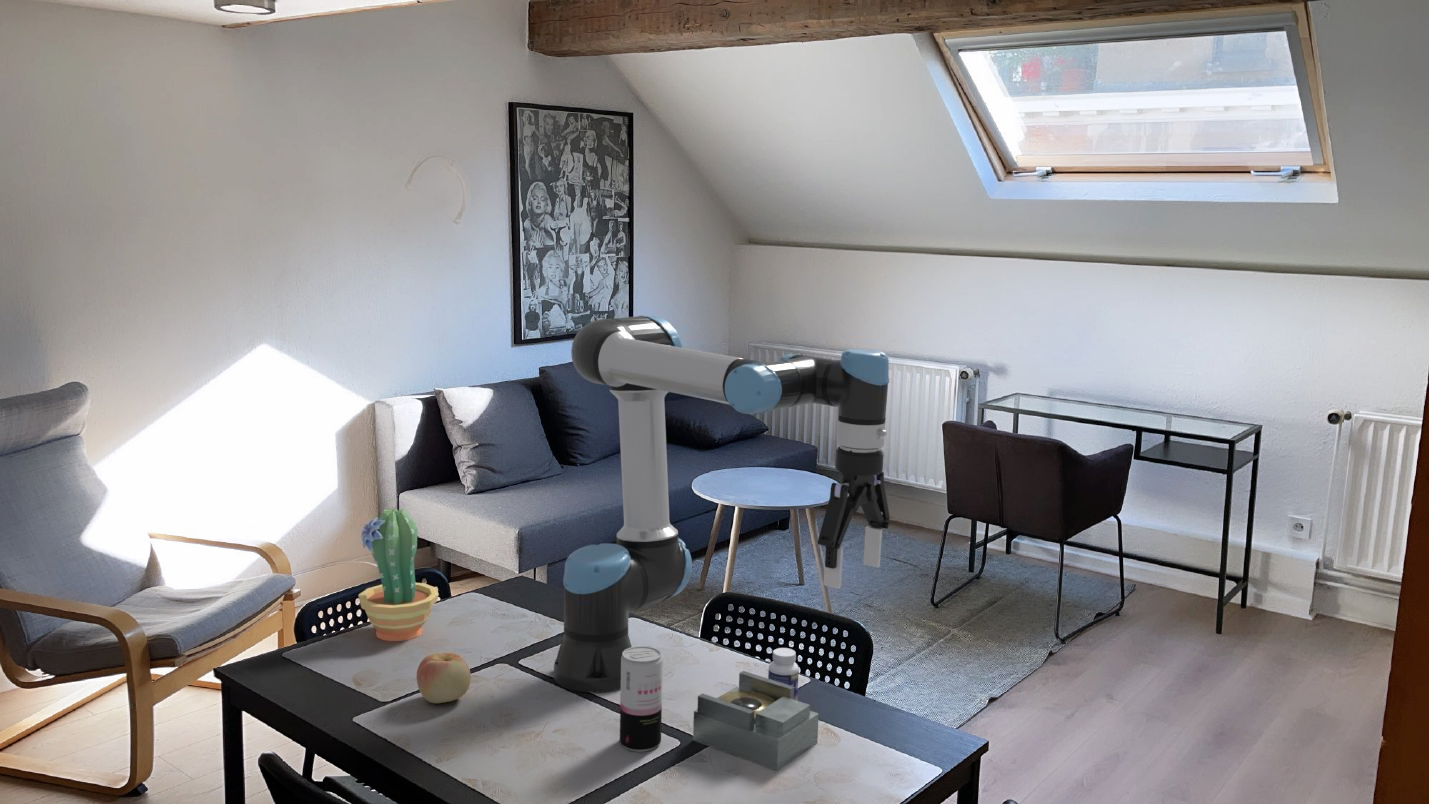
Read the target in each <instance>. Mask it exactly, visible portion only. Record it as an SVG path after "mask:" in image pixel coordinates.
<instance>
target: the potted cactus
mask: <svg viewBox="0 0 1429 804" xmlns="http://www.w3.org/2000/svg"><path fill="white" fill-rule="evenodd" d="M364 525H365V526H363V529H362V531H361V537H360V538H361V541H362V546H363V549H364V548H367V549H368V550H369V552H371V555H372V558H373V560H374V562H375V564H376V566H377V568H378V572H379V577H380V582H381V584H379V585H375V586H372V587H367V588H365V590H363V591H362V592H360V593H359V594H358V599H359V604H360V607H361V609H362V610H365V613H366V616H367V619H368V621H369V622H370V624H371V625H372V626H373V627H374V629H375V631H376V632H375V634H376V637H377V638H378V639H380V640H383V641H387V642H399V641H400V642H401V641H409V640H413V639H415V638H418V637H420V636H421V635H422V634H423V629H422V628H423V626H424V625H425V623H426V621H427V620H428V619H429V618H430V615H431V614H432V613H431V612H432V609H433V606H434V604H436V603H437V602H438V598H439V595H440V594H439V592H438V588H437V587H435V586H432V585H429V584H427V583H425V582H423V583H422V582H416V575H415V556H416V552H417V548H418V526H417V524H416V523H415V521H414V519H413V518H412V517H411V516H410V514H409V513H408V512H407V511H406V510H405V509H404V508H401V509H397V507H392V509H391V510H388V509H383V511H382V512H381V515H379V517H378V516H376V517H375V518H373V519H371V520H370V521H368V522H366V524H364Z"/></svg>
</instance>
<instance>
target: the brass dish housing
mask: <svg viewBox="0 0 1429 804" xmlns="http://www.w3.org/2000/svg"><path fill="white" fill-rule="evenodd" d="M738 674H739V676H738V677H739V678H738V687H737V686H736V687H734V688H732V689H730V690H729V691H727V692H725V693H723V694H721V695H720V696H718V697H714V696H712V695H708V694H705V693H700V694H699V695H697V708H696V709H695V710H693V727H692V728H693V733H692V741H694V742H697V743H700V744H701V745H705V746H707V747H710V748H713V749H715V750H719V751H721V752H724V753H726V754H729V755H732V756H733V757H737V758H740V759H742V760H746V761H748V762H751V763H753V764H756V765H759V766H762V767H764V768H767V769H770V770H772V771H775V772H779V770H782V768H784V767H785V766H786V765H788V764H789V763H791V762H793V761H794V760H795V759H797V758H798V757H799V756H801V755H802V754H803V753H805V752H806V751H808V750H809V749H811V748H812V747H814V746H815V745H816V744H818V735H819V713H818V712H815V711H812V710H811V705H810V704H808V703H805V702H802V701H799V700H797V701H796V700H794V686H790V685H787V684H784V683H781V682H778V681H774V680H771V679H768V677H764V676H761V675H757V674H755V673H752V672H748V671H745V670H743V671H741V672H739V673H738Z"/></svg>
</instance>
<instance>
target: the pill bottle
mask: <svg viewBox="0 0 1429 804" xmlns="http://www.w3.org/2000/svg"><path fill="white" fill-rule="evenodd" d="M772 660H773V661H771V662H770V663H769V665H768V670H767V671H768V675H767V676H768V677H767V678H768V679H771V680H774V681H778V682H781V683H784V684H787V685H790V686H794V700H796V701H798V695H799V694H798V689H799V674H800V672H799V665H798V663H796V660H797V655H796V651H795V650H794V649H792V648H788V647H778V648H776V649H774V650H773V651H772Z"/></svg>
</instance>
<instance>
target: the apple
mask: <svg viewBox="0 0 1429 804" xmlns="http://www.w3.org/2000/svg"><path fill="white" fill-rule="evenodd" d="M471 679H472V678H471V669H470V666H469V664H468V662H467V661H466V660H465V659H464V658H463V657H461V656H460V655H458V654H456V653H455V654H454V653H451V652H450V653H446V652H445V653H443V652H442V653H441V652H440V653H433V654H429V655H427V656H425V657H424V658H423V659H422V660H421V662H420V663H419V665H418V667H417V670H416V684H417V688H418V690H419V693H420V694H421V696H422V697H423V698H424V699H425V700H426V701H427V702H429V703H432V704H442V703H447V702H448V703H449V702H452V701H456V700H458V699H461V698H462V697H463V696H465V694H466V693H467V692H468V690H469V688H470V685H471V684H470V683H471Z"/></svg>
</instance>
